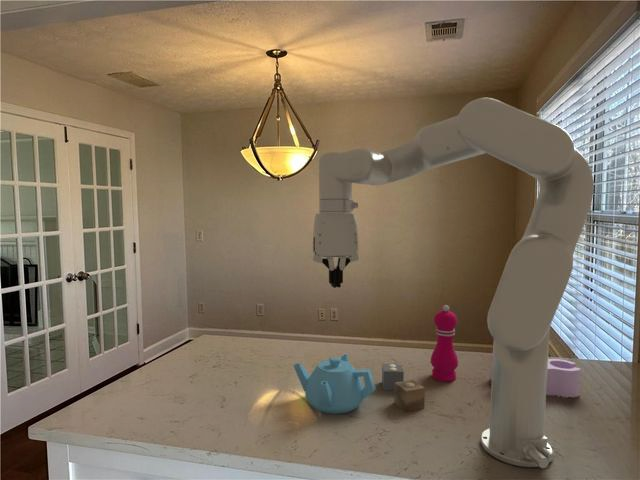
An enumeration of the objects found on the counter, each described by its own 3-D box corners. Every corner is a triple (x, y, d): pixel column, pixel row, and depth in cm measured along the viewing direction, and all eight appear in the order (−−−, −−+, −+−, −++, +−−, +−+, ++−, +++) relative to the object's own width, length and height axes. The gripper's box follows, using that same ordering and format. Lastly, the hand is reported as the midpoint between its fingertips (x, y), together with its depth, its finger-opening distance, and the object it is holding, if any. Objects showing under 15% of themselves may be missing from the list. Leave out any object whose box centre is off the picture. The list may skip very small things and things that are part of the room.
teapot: (319, 424, 93) (319, 375, 92) (292, 396, 106) (292, 353, 105) (378, 409, 100) (379, 364, 99) (346, 385, 113) (346, 344, 112)
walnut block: (424, 408, 100) (424, 387, 100) (405, 412, 98) (406, 390, 98) (412, 399, 105) (412, 379, 104) (394, 402, 103) (394, 381, 103)
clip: (568, 382, 116) (569, 357, 115) (585, 403, 103) (586, 375, 103) (488, 375, 120) (489, 351, 120) (496, 394, 108) (497, 367, 107)
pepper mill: (454, 372, 122) (456, 302, 120) (460, 383, 114) (462, 308, 113) (428, 371, 122) (430, 301, 121) (432, 381, 115) (434, 307, 114)
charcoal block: (403, 391, 110) (403, 371, 109) (383, 390, 110) (383, 370, 110) (400, 382, 115) (401, 364, 114) (381, 382, 115) (382, 363, 115)
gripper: (362, 207, 105) (362, 282, 106) (300, 207, 102) (301, 285, 103) (371, 207, 97) (371, 288, 99) (306, 207, 94) (306, 291, 96)
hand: (335, 286), depth 101 cm, fingers closed
